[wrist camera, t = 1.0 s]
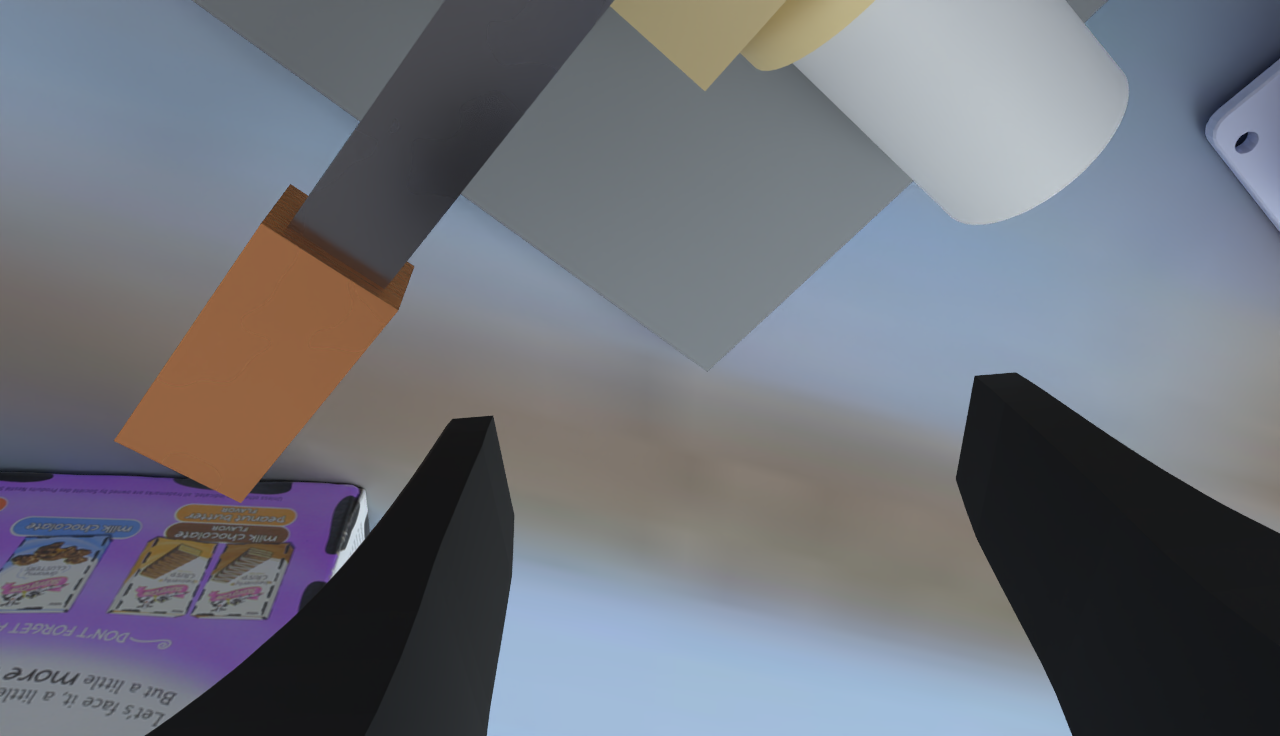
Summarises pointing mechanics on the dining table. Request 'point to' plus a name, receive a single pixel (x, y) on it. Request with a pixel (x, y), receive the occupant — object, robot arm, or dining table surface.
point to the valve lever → (348, 243)
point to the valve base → (746, 132)
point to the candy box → (150, 590)
